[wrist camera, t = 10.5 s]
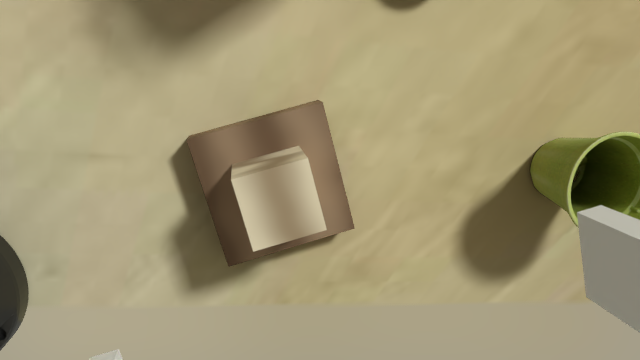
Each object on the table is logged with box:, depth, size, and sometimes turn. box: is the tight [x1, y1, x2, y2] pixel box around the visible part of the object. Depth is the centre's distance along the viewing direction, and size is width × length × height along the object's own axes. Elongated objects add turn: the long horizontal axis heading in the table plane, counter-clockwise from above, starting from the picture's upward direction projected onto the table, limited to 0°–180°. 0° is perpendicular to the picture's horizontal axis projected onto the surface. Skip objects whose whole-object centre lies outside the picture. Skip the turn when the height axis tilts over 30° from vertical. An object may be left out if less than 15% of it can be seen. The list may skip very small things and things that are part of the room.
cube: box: [231, 146, 327, 252], centre depth 41 cm, size 6×6×6 cm
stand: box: [187, 100, 354, 266], centre depth 45 cm, size 12×12×2 cm
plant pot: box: [530, 132, 640, 228], centre depth 47 cm, size 9×9×9 cm
